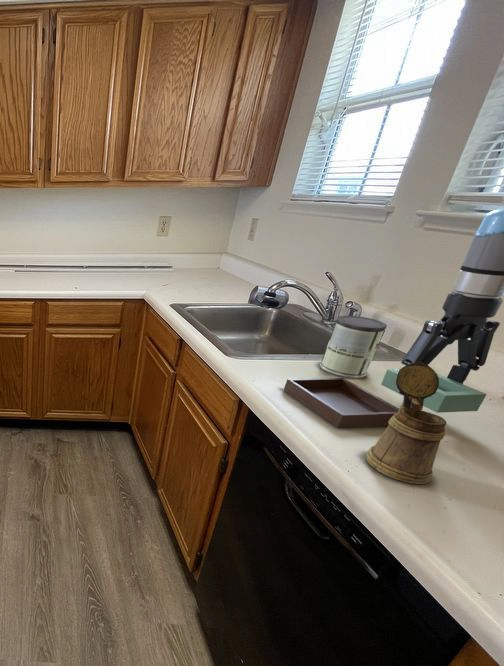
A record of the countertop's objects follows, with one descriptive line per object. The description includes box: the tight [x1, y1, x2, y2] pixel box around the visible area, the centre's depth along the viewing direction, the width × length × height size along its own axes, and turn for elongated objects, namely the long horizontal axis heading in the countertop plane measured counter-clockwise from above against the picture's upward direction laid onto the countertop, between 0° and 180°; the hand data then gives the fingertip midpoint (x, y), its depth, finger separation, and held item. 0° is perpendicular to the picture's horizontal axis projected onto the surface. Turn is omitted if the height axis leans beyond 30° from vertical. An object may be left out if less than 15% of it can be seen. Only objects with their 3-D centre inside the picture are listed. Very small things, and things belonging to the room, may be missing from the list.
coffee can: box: [319, 315, 388, 379], centre depth 111 cm, size 10×10×14 cm
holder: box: [283, 377, 400, 429], centre depth 96 cm, size 17×15×3 cm
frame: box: [380, 368, 488, 414], centre depth 91 cm, size 13×9×4 cm
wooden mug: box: [365, 361, 447, 485], centre depth 74 cm, size 9×14×18 cm, turn 155°
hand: (427, 395), depth 91 cm, fingers closed on frame, 9 cm apart
